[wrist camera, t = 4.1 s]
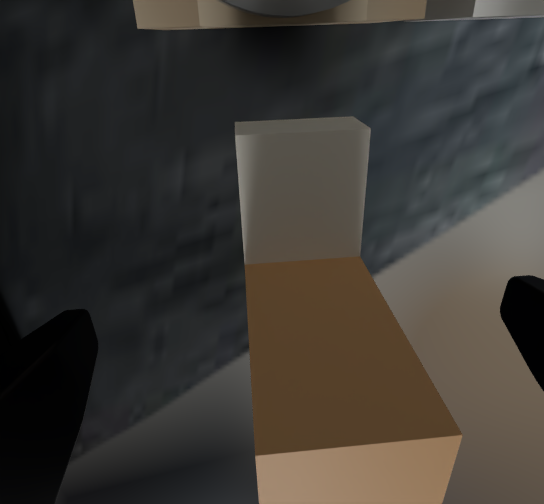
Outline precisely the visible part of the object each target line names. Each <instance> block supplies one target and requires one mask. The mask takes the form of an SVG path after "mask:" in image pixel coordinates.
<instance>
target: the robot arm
mask: <svg viewBox="0 0 544 504" xmlns="http://www.w3.org/2000/svg"><path fill="white" fill-rule="evenodd" d="M500 314H501V318H502V320H503V322H504V323H505V325H506V327H507V329H508V331H509V333H510V334H511V336H512V338H513V340H514V342H515V343H516V345H517V347H518V349H519V351H520V353H521V355H522V356H523V358H524V360H525V362H526V363H527V365H528V367H529V369H530V371H531V372H532V374H533V376H534V377H535V379H536V381H537V382H538V384H539V385H540V387H541V388H542V390H543V391H544V280H543V279H541V278H537V277H535V276H530V275H528V276H514V277H512V278H511V279H510V280H509V281H508V283H507V286H506V289H505V293H504V296H503V299H502V303H501V306H500ZM97 353H98V340H97V336H96V333H95V330H94V326H93V323H92V320H91V317H90V314H89V312H88V311H87V310H85V309H76V310H66V311H63V312H62V313H60V314H59V315H57V316H56V317H54V318H53V319H51V320H50V321H48V322H47V323H45V324H44V325H42V326H41V327H39V328H38V329H36V330H35V331H33V332H32V333H30V334H29V335H27V336H26V337H24V338H23V339H21V340H20V341H18V342H17V343H15V344H14V345H12V346H11V347H10V345H9V343H8V341H7V339H6V336H5V334H4V332H3V330H2V327H1V326H0V504H55V502H56V499H57V496H58V493H59V490H60V487H61V484H62V481H63V478H64V475H65V472H66V469H67V466H68V463H69V460H70V457H71V454H72V451H73V448H74V446H75V443H76V440H77V437H78V434H79V431H80V427H81V424H82V421H83V417H84V413H85V409H86V405H87V400H88V395H89V391H90V386H91V381H92V377H93V372H94V367H95V363H96V358H97Z"/></svg>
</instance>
